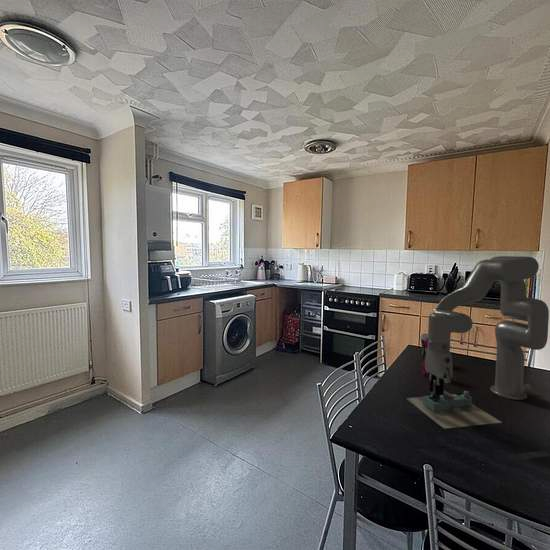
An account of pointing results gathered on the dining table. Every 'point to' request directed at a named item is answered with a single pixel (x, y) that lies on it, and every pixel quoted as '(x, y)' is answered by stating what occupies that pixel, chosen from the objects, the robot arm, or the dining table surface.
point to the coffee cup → (423, 338)
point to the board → (455, 414)
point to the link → (447, 402)
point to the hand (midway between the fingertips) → (436, 392)
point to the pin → (434, 390)
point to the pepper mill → (424, 359)
